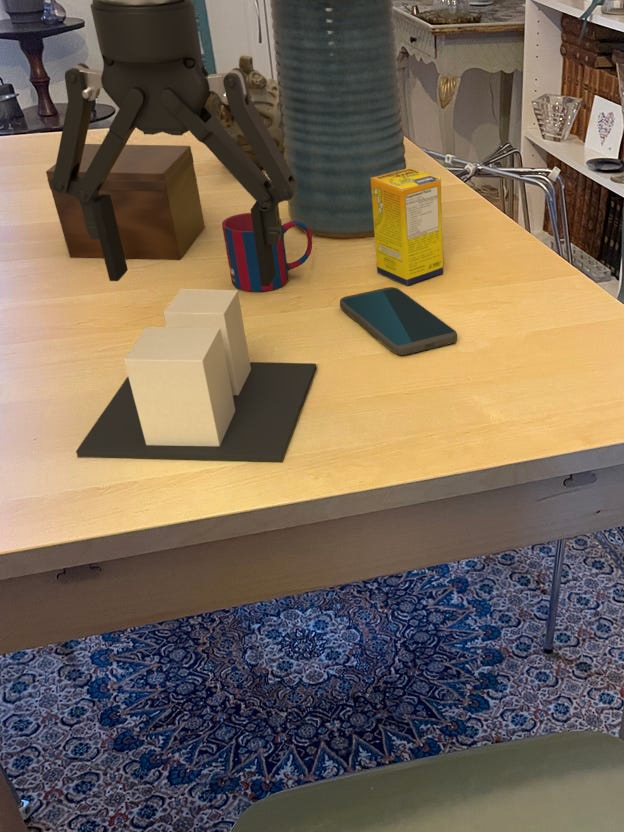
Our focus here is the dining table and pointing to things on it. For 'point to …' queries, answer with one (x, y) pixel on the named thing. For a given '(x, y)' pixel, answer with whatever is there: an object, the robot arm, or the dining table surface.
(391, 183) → the supplement box
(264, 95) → the teapot
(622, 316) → the dining table surface
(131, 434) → the rubber mat
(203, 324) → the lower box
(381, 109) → the vase
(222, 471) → the dining table surface
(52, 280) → the dining table surface
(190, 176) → the brown rectangular block
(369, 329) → the smartphone
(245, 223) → the mug
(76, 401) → the dining table surface
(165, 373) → the upper box
